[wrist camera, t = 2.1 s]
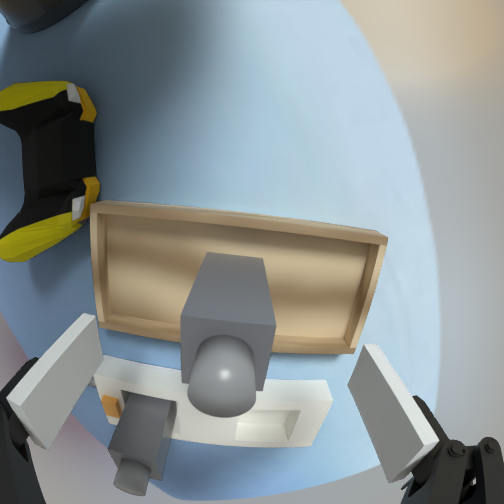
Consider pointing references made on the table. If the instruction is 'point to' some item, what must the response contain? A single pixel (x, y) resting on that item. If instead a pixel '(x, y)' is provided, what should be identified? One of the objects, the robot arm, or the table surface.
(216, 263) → the plug
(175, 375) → the strip
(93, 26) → the table surface
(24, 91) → the gaming controller
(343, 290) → the tray
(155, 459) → the twin plug
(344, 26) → the table surface
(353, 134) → the table surface
